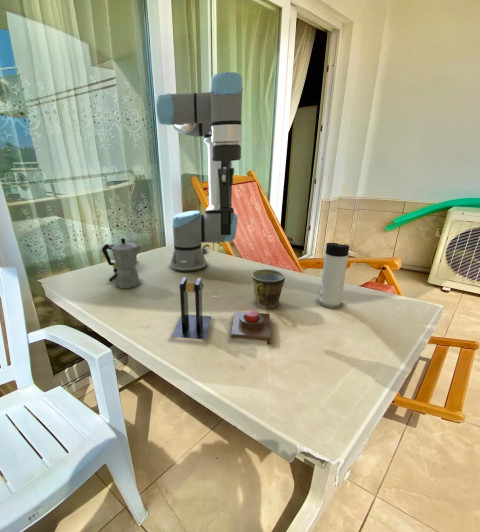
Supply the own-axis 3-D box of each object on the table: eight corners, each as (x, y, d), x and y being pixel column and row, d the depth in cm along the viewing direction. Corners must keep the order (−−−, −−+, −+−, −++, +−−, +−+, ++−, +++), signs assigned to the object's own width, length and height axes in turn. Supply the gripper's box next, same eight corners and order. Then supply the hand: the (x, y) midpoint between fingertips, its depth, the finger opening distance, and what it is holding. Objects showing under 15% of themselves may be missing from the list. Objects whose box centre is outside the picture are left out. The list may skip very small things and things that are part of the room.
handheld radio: (138, 261, 140) (115, 283, 117) (131, 261, 141) (107, 283, 118) (136, 247, 138) (112, 267, 115) (129, 248, 138) (104, 267, 115)
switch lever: (193, 291, 92) (193, 280, 92) (204, 292, 91) (204, 280, 91) (183, 293, 79) (183, 280, 79) (196, 294, 78) (196, 281, 78)
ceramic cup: (258, 294, 104) (259, 267, 100) (287, 301, 98) (289, 272, 95) (241, 310, 94) (242, 280, 91) (272, 318, 89) (274, 287, 85)
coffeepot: (148, 279, 120) (144, 235, 113) (140, 289, 111) (135, 242, 105) (112, 278, 122) (106, 234, 116) (101, 287, 114) (94, 241, 107)
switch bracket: (181, 317, 91) (179, 271, 86) (211, 319, 89) (211, 273, 84) (171, 340, 80) (167, 289, 75) (205, 343, 78) (203, 291, 73)
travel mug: (315, 304, 96) (322, 243, 89) (323, 297, 100) (331, 238, 93) (336, 310, 92) (345, 247, 85) (343, 302, 96) (353, 242, 89)
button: (245, 315, 84) (245, 309, 83) (258, 315, 83) (258, 310, 83) (244, 321, 81) (244, 316, 80) (258, 322, 80) (258, 316, 79)
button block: (234, 317, 90) (234, 305, 88) (269, 320, 88) (269, 308, 86) (231, 341, 79) (231, 328, 77) (270, 344, 77) (271, 331, 75)
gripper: (214, 145, 84) (215, 228, 92) (207, 144, 72) (209, 240, 80) (242, 144, 82) (240, 229, 91) (239, 143, 70) (237, 240, 79)
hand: (225, 234), depth 85 cm, fingers closed
